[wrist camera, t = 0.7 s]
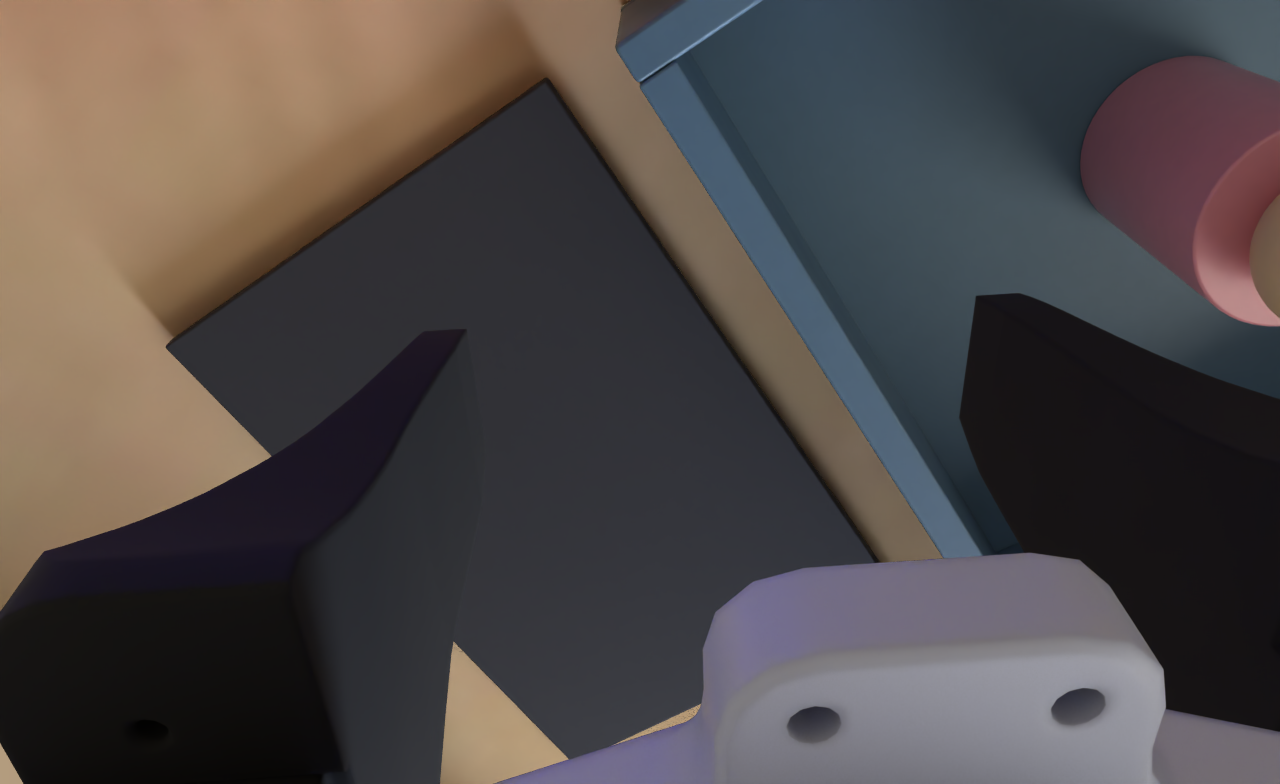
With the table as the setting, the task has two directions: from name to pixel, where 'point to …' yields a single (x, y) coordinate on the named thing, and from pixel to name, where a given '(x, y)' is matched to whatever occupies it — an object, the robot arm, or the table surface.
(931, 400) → the blue tray
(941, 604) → the robot arm
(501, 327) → the mat
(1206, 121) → the doll
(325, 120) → the table surface
